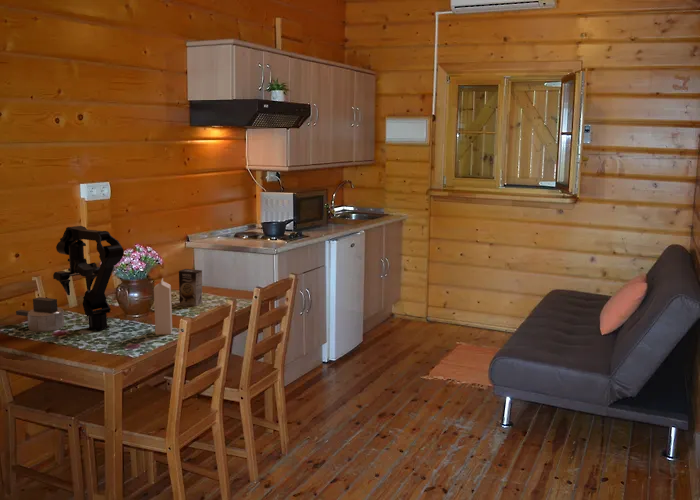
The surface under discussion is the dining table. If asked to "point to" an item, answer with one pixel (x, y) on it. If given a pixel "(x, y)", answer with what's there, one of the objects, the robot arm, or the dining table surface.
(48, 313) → the cup and saucer
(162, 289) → the milk
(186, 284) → the coffee box
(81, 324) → the dining table surface
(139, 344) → the dining table surface
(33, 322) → the pot
